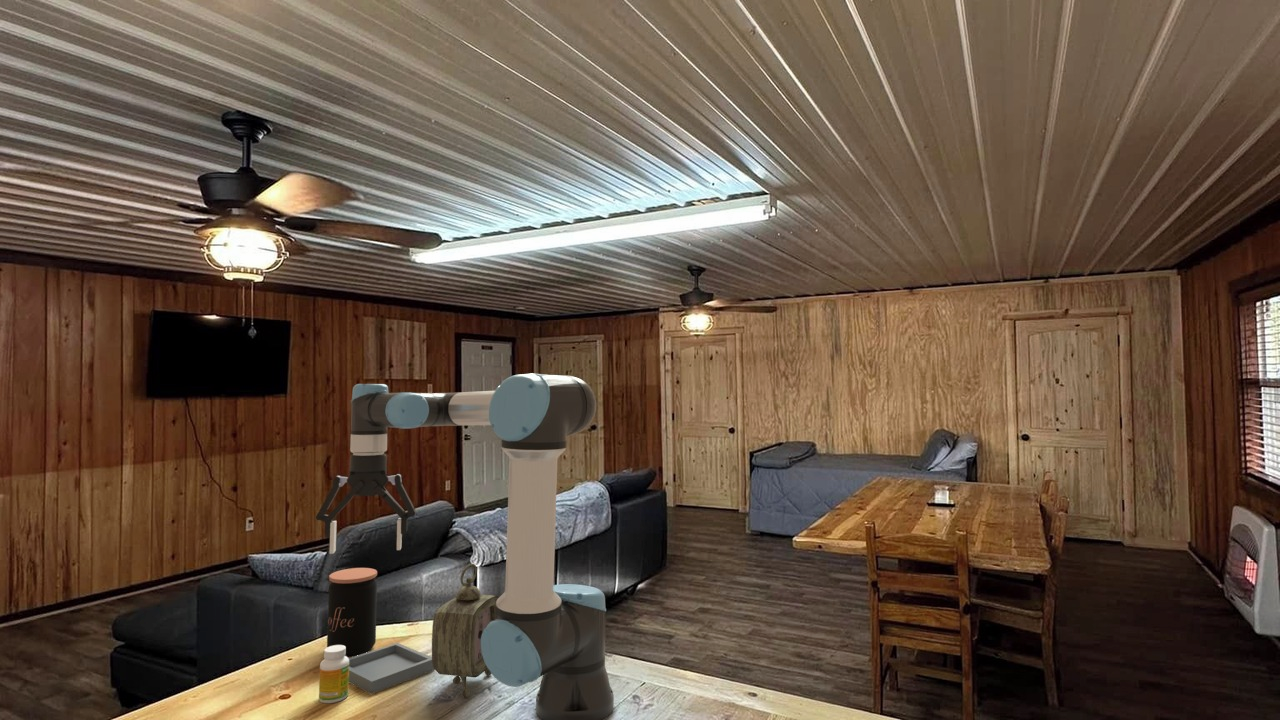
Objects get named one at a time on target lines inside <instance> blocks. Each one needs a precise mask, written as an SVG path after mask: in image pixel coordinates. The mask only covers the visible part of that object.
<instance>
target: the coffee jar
mask: <svg viewBox="0 0 1280 720" xmlns="http://www.w3.org/2000/svg"><path fill="white" fill-rule="evenodd" d="M377 576H378V571H377V569H374V568H370V567H351V568H347V569H346V568H345V569H341V570H337V571H334V572H332V573H330V574H329V575H328V579H329V582H330V584H329V586H328V598H327V600H328V601H327V603H328V605H327V630H326V631H327V632H326V633H327V634H326V635H327V637H326V648H327V647H330V646H334V645H344V646H345V647H346V654H345V656H346V657H348V658H351V657H352V656H354V657H355V656H357V655H361V654H364V653H366V652H368V651H369V652H370V651H372V649H373V647H374V646H375V644H376V640H377V638H376V636H377V634H376V633H377V603H378V602H377V601H378V600H377V599H378V598H377V597H378V595H377V594H378V582H377V580H376V577H377Z"/></svg>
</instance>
